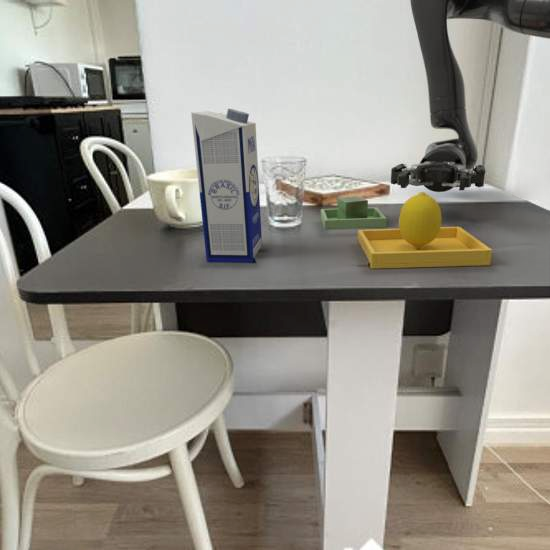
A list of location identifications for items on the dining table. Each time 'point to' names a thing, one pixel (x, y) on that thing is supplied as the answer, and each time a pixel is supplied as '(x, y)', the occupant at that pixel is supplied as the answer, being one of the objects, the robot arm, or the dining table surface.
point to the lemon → (420, 220)
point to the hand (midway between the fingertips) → (432, 182)
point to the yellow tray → (423, 249)
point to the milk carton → (228, 185)
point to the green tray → (353, 220)
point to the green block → (352, 207)
